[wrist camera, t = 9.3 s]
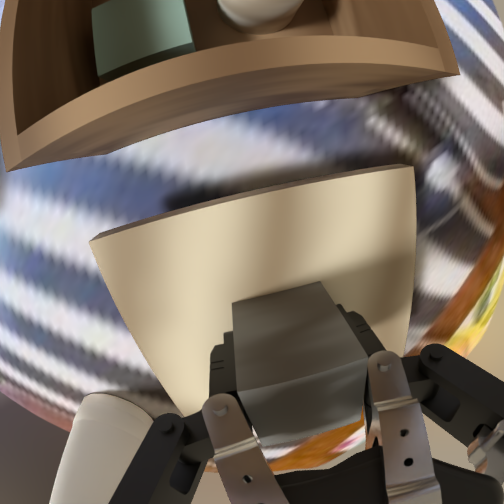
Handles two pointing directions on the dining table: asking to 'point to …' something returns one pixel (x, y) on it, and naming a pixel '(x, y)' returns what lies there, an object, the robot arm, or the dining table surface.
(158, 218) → the lid
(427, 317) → the dining table surface
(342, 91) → the box
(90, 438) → the bottle
